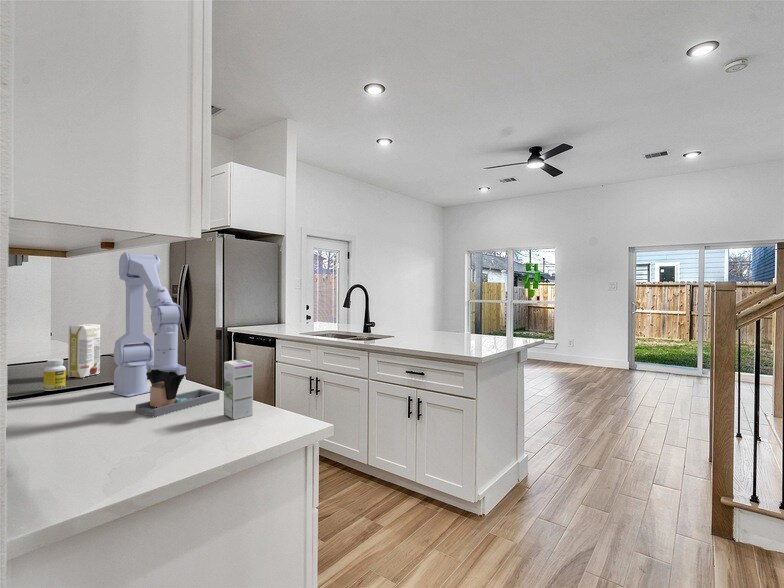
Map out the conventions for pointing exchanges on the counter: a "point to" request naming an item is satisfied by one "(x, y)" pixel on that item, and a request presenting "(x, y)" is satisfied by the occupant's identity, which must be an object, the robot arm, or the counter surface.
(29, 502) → the counter surface
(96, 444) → the counter surface
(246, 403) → the syrup box
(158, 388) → the tan cardboard cube box
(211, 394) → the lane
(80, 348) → the juice carton
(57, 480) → the counter surface
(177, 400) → the pusher
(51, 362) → the supplement bottle
